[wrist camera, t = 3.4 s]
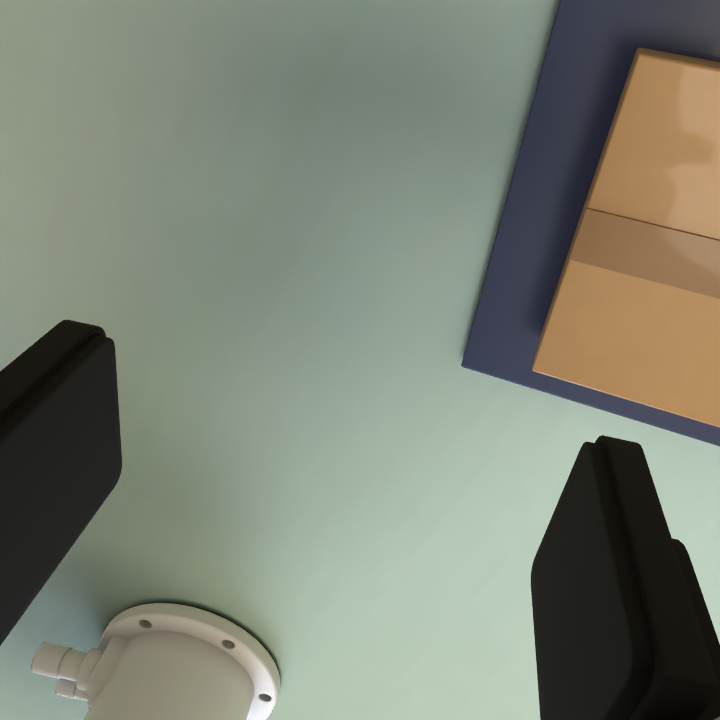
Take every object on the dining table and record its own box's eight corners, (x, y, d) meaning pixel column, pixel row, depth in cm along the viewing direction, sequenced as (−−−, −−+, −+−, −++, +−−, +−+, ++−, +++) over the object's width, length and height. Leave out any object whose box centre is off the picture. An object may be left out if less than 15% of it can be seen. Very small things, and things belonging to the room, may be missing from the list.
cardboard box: (539, 336, 27) (530, 372, 25) (637, 46, 21) (638, 53, 19) (744, 396, 25) (757, 441, 23) (911, 97, 20) (954, 113, 17)
